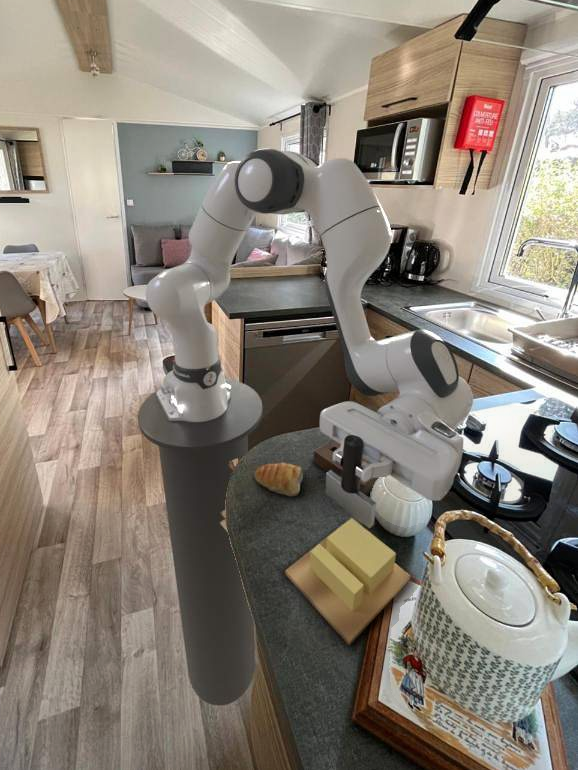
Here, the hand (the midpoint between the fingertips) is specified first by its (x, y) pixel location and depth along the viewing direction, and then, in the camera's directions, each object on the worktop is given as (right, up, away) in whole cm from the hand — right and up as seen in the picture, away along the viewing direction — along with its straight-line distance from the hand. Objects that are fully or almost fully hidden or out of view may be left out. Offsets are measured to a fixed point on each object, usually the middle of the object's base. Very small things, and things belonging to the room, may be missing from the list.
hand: (347, 467), depth 52 cm
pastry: (-7, -12, +23) cm, 27 cm away
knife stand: (+7, -10, +25) cm, 28 cm away
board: (+1, -18, +5) cm, 19 cm away
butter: (+3, -17, +6) cm, 18 cm away
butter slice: (-1, -18, +3) cm, 18 cm away
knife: (+1, -7, +3) cm, 8 cm away
